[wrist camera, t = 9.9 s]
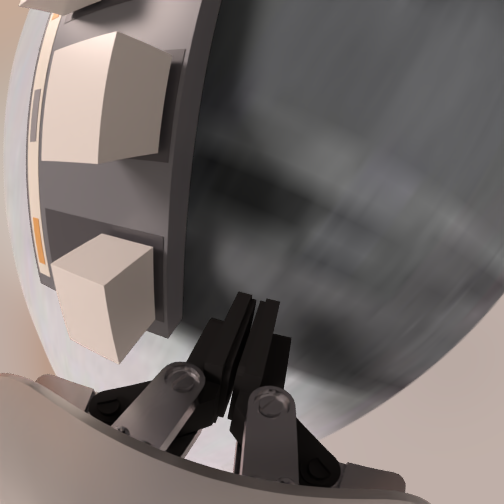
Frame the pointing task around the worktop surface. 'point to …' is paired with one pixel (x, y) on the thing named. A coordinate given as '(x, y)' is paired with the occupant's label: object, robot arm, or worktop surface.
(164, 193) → the switch plate
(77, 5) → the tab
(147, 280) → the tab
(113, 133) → the tab middle
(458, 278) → the worktop surface
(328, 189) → the worktop surface
